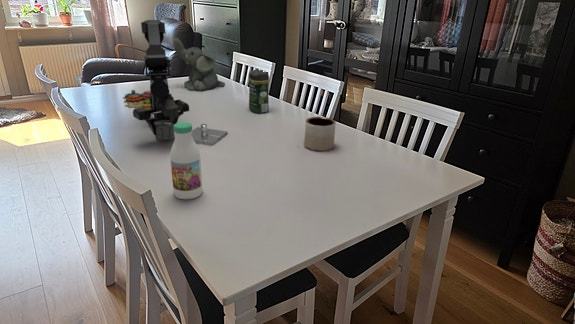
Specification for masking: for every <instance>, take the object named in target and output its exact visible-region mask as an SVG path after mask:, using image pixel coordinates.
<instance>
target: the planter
mask: <svg viewBox="0 0 575 324" xmlns="http://www.w3.org/2000/svg"><path fill="white" fill-rule="evenodd" d="M336 123H337V122H336V120H334V119H332V118H330V117H326V116H313V117H308V118H307V119H306V120H305V125H304V126H305V127H304V141H303V145H304V146H305V148H306V149H309V150H311V151H315V152H327V151H330V150H332V149H333V148H334V146H335V136H336Z"/></svg>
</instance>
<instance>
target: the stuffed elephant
mask: <svg viewBox="0 0 575 324" xmlns="http://www.w3.org/2000/svg"><path fill="white" fill-rule="evenodd" d="M172 47H173V48H175V50H176V51H177V55H178V56H179V58H181V59H182V60H183V61H184V62H185V63H186V65H189V66H190V65H191V66H192V68H191V71H190V74H189V75H188V80H185V82H183V86H184V87H185V88H187V90H189V91H199V92H204V91H207V90H210V89H213V88H215V87H218V88H221V87H222V88H224V87H225V86H226V83H225V82H224V81H222V80H221V81H220V80H219V78H218V75H217V73H216V71H215V69H214V67H215V65H216V63H217V59H216V58H215V56H214V55H213V54H212V53H210V52H207V51H204V50H202V49H200V48H199V47H197V46H196V47H194V46H193V47H189V48H185V47H184V45H183V43H182V41H181V40H180V39H179V38H178V37H174V38H173V39H172Z"/></svg>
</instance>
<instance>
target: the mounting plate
mask: <svg viewBox="0 0 575 324" xmlns="http://www.w3.org/2000/svg"><path fill="white" fill-rule="evenodd" d="M227 135H229V132H228V131H227V130H221V129H220V130H219V129H214V128H208V124H207V123H202V124H200V127H199V126H197V127H195V128H194V129H192V137H193V140H194V142H195V143H196V144H198V145H206V146H214V145H215V144H217V143H218V142H219V141H220V140H222V139H223V138H225V137H226V136H227Z"/></svg>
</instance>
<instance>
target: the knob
mask: <svg viewBox="0 0 575 324" xmlns="http://www.w3.org/2000/svg"><path fill="white" fill-rule="evenodd" d="M155 129H156V135H154V137H155V139H157V140H170V139H172V138H175V134H174V127H173V122H172V121H169V120H161V121H157V122H155Z"/></svg>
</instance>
